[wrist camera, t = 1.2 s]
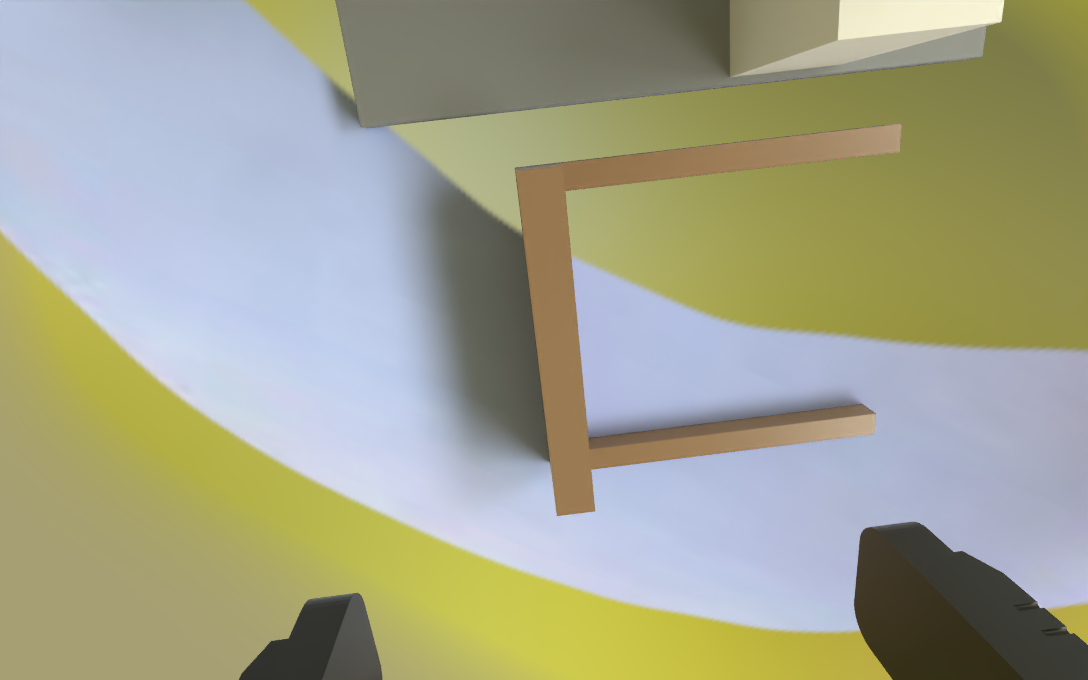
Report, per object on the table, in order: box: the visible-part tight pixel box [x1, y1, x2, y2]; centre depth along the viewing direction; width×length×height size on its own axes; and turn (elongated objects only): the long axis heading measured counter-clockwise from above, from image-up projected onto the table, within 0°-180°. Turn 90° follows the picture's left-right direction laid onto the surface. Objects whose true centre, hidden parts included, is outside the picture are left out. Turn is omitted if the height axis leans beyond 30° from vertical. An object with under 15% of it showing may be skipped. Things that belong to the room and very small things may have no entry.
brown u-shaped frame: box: [515, 124, 902, 516], centre depth 22 cm, size 14×13×4 cm
